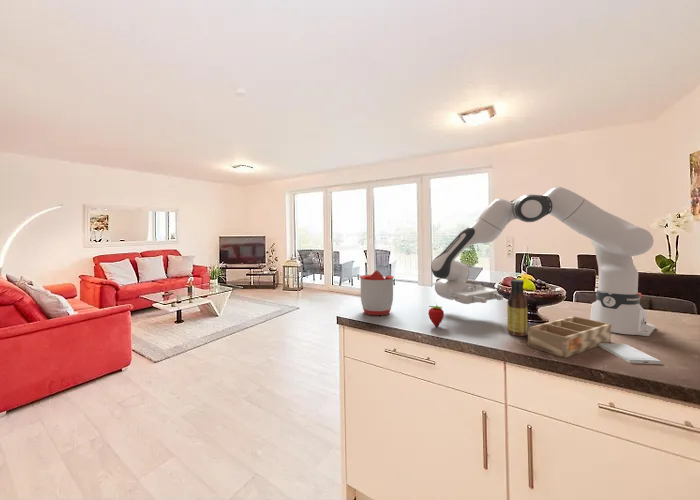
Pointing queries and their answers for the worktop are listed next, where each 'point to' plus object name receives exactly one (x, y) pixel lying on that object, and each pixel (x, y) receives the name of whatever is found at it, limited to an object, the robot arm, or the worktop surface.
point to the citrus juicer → (376, 293)
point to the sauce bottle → (517, 309)
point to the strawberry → (436, 315)
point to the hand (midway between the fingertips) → (493, 299)
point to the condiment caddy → (569, 335)
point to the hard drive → (629, 353)
